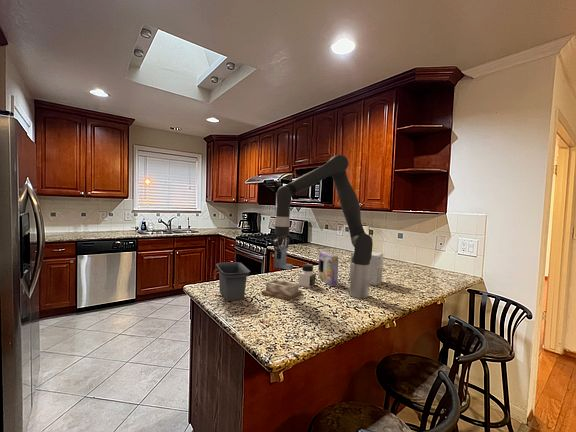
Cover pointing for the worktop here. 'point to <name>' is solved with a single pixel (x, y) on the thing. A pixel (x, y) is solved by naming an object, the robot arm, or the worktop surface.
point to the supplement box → (373, 268)
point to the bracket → (282, 260)
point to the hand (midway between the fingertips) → (280, 258)
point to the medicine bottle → (307, 276)
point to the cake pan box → (328, 268)
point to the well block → (282, 289)
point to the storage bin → (232, 280)
